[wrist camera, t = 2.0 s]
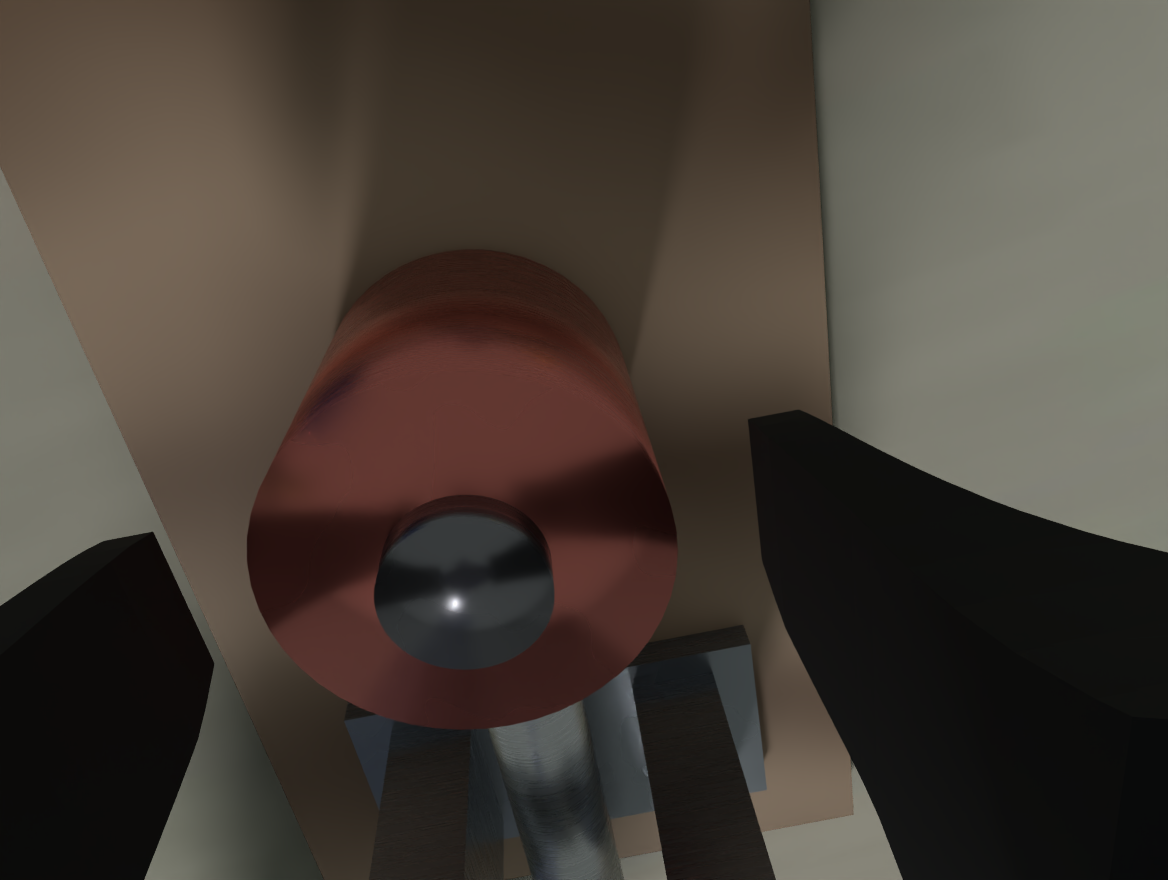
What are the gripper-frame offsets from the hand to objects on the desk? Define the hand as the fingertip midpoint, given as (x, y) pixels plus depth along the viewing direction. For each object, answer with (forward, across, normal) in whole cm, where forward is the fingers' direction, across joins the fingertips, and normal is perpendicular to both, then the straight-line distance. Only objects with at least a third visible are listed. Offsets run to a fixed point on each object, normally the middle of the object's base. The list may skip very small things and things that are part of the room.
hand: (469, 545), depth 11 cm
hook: (+5, 0, +5) cm, 7 cm away
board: (+6, 0, +2) cm, 6 cm away
